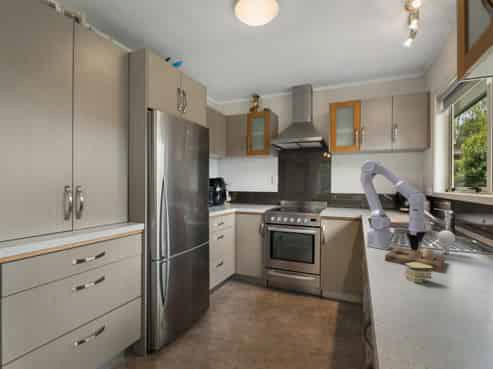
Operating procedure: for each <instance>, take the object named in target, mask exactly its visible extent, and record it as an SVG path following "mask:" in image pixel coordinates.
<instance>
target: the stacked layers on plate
mask: <svg viewBox="0 0 493 369" xmlns="http://www.w3.org/2000/svg"><path fill="white" fill-rule="evenodd" d="M405 264H407V265H409V266H407V265H406V266H404V269H405V273H403V275H405V280H407V281H409V282H411V281H412V282H411V283H413V282H414V283H413V284H416V283H415V282H419V283H423V282H424V280H432V279H433V277H432V273H433V272H434V271H432V270H430V269H428V268H433V267H432V266H429V265H426V264H422V263H418V262H411V263H405ZM426 268H427V269H426Z"/></svg>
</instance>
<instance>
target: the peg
mask: <svg viewBox="0 0 493 369" xmlns="http://www.w3.org/2000/svg"><path fill="white" fill-rule="evenodd" d="M422 253H423V259H427V260H432V261H434V255H435V254H434V253H435V250H434V249H431V248H423V249H422Z"/></svg>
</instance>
